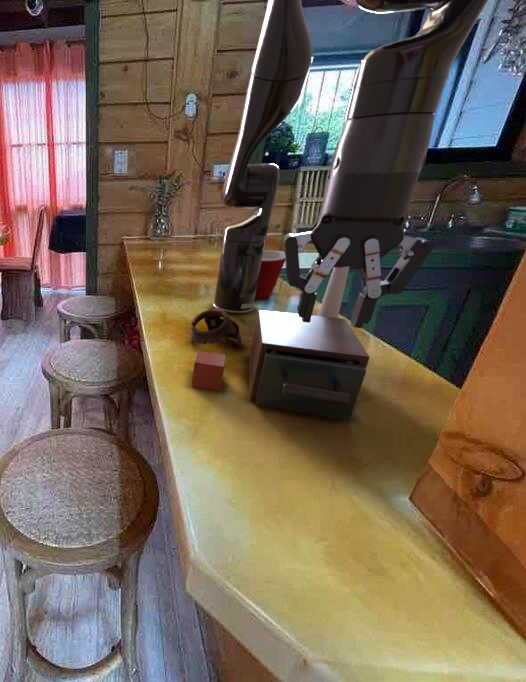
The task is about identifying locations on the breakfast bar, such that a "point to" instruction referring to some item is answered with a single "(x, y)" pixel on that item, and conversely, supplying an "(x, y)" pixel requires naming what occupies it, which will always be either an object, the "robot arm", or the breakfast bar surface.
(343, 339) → the cabinet
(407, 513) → the breakfast bar surface
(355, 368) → the drawer
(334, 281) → the candlestick
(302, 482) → the breakfast bar surface
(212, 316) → the brown ring bracket
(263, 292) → the plastic cup
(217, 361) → the block
